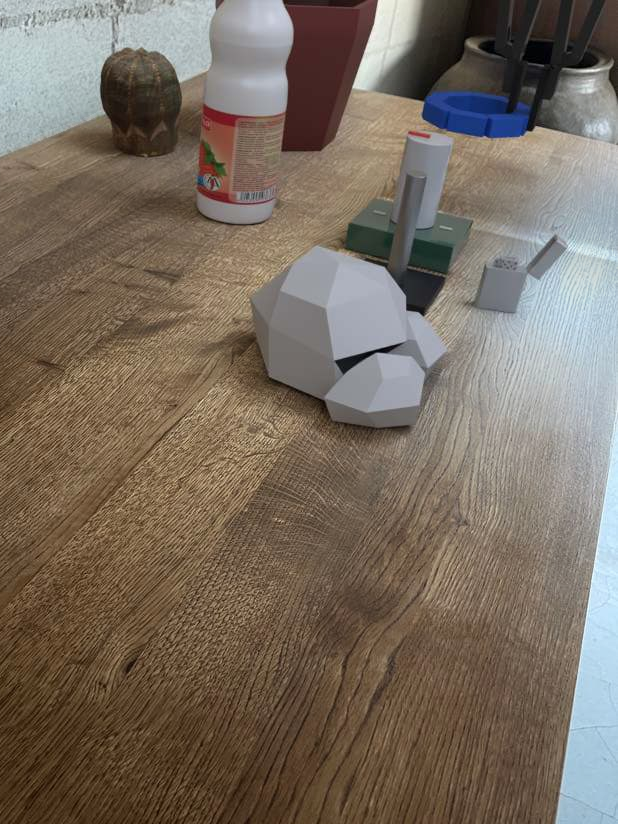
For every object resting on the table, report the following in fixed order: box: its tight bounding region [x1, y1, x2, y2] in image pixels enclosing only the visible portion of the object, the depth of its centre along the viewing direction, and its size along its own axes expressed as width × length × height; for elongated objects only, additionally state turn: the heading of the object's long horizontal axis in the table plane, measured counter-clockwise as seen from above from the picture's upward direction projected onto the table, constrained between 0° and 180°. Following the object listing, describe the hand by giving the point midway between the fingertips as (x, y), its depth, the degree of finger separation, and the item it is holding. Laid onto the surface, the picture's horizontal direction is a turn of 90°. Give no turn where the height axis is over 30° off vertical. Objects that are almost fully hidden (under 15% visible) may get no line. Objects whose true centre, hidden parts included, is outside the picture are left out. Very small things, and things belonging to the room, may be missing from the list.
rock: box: [249, 245, 449, 429], centre depth 78 cm, size 18×20×10 cm
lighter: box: [473, 234, 569, 314], centre depth 93 cm, size 7×2×8 cm, turn 80°
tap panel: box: [344, 197, 474, 274], centre depth 105 cm, size 12×10×3 cm
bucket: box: [214, 0, 379, 152], centre depth 129 cm, size 24×22×25 cm
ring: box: [421, 90, 532, 139], centre depth 107 cm, size 12×12×2 cm
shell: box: [99, 46, 183, 158], centre depth 124 cm, size 11×11×12 cm
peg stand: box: [362, 170, 447, 317], centre depth 93 cm, size 9×9×12 cm
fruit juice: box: [195, 0, 294, 225], centre depth 102 cm, size 9×9×28 cm
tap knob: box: [391, 129, 455, 229], centre depth 102 cm, size 5×5×9 cm
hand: (518, 126), depth 106 cm, fingers closed on ring, 2 cm apart
